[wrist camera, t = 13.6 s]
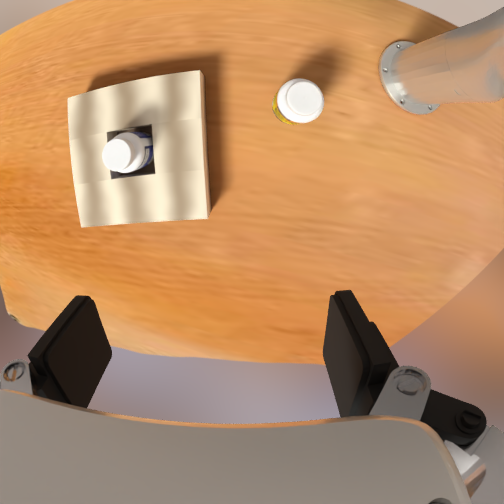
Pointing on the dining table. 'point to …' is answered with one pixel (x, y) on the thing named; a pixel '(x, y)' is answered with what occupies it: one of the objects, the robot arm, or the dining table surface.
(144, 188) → the socket block
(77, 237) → the dining table surface
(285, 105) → the supplement bottle
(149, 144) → the pill bottle
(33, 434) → the robot arm
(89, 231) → the dining table surface
